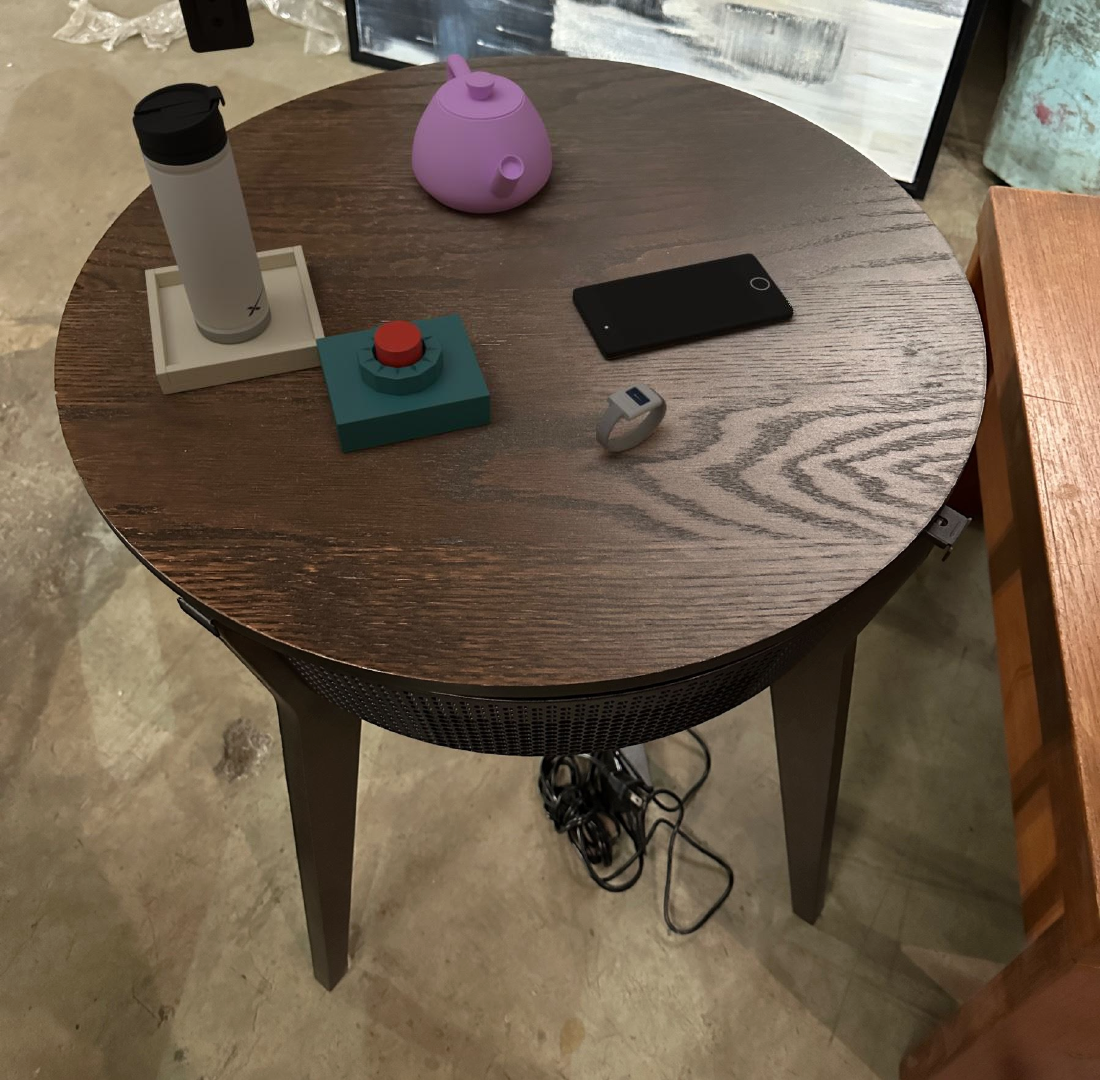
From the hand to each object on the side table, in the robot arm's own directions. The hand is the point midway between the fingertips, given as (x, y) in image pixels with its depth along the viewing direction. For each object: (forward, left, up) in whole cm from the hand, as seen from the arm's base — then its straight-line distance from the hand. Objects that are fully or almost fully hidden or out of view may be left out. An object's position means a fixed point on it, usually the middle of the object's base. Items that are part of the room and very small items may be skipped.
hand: (222, 41), depth 53 cm
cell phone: (+34, +10, -33) cm, 48 cm away
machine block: (+8, +6, -33) cm, 35 cm away
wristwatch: (+24, -4, -33) cm, 41 cm away
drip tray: (-4, +18, -33) cm, 38 cm away
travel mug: (-4, +18, -32) cm, 37 cm away
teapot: (+22, +33, -33) cm, 52 cm away
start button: (+8, +6, -28) cm, 30 cm away
